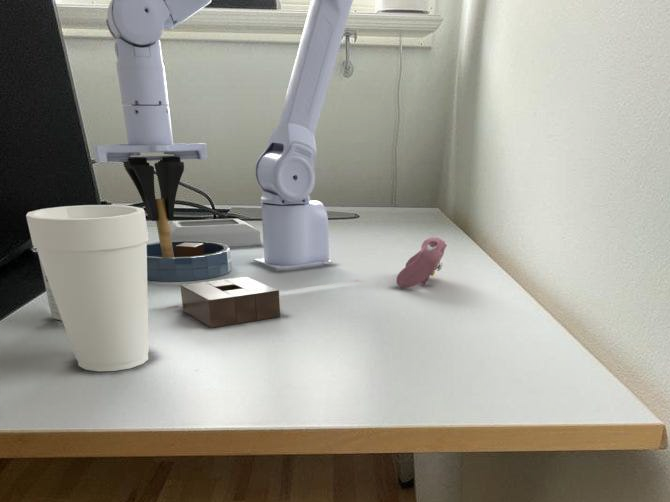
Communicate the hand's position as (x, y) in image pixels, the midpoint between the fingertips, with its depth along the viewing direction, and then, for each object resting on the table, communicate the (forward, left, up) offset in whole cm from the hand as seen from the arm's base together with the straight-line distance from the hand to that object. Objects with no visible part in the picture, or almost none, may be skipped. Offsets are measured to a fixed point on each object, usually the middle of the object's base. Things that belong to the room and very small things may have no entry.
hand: (161, 219), depth 91 cm
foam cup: (+17, +33, -8) cm, 38 cm away
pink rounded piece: (-28, +23, -8) cm, 37 cm away
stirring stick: (0, +1, -6) cm, 6 cm away
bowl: (-2, +1, -7) cm, 8 cm away
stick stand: (+1, +24, -7) cm, 25 cm away
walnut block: (-4, -1, -7) cm, 8 cm away
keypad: (-15, -19, -8) cm, 25 cm away
